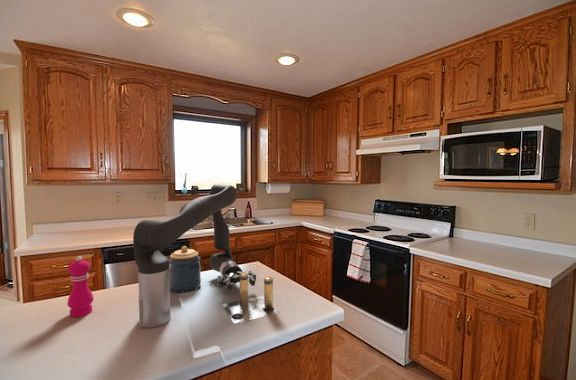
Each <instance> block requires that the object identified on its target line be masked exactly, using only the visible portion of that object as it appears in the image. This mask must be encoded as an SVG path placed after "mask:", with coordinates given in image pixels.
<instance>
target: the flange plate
mask: <svg viewBox="0 0 576 380" xmlns="http://www.w3.org/2000/svg"><path fill="white" fill-rule="evenodd" d="M222 306H223V308H224V310H225V311H226V313H227V315H228V317H229V318H230V320H231V321H232V324H233V325H235V324H239V323H240V324H241V323H244V322H247V321H252V320H256V319H260V318H265V317H269V316H273V315H277V314H280V313H281V312H280V311H279V310H278V309H277V308H276V306H274V305H273V310H272V311H265V310H264V295H262V296H261V295H260V296H256V297H251V298H248V305H247V306H241V305H240V300H236V301H231V302H227V303H223V304H222Z"/></svg>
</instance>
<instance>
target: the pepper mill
mask: <svg viewBox="0 0 576 380" xmlns="http://www.w3.org/2000/svg"><path fill="white" fill-rule="evenodd" d="M90 270H91V265H90V263H89V262H88V261H87V260H84V259H83V257H82V256H81V255H78V256H77V257H75V261H73V262H72V263H70V264H69V266H68V270H67V271H68V273H69V274H70V281H71V282H72V289H71V292H70V294H69V296H68V297H67V298H68V299H67V307H68V308H69V309H70V310H69V316H70V317H71V318H79V317H80V318H81V317H85V316H87V315H89V314H91V313H92V311H93V305H92V303H93V302H94V295H93V293H92V291H91V289H90V288H89V285H88V278H89V271H90Z"/></svg>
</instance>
